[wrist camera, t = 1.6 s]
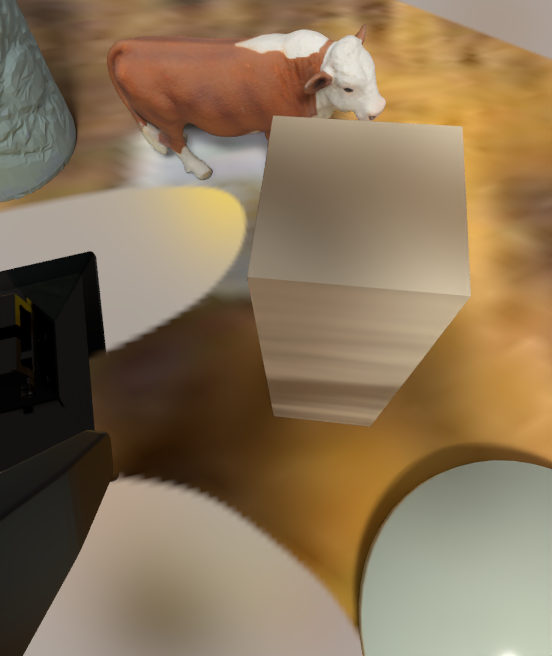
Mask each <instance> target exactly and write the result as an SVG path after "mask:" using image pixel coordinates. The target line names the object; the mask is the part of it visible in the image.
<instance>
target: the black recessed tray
mask: <svg viewBox="0 0 552 656" xmlns="http://www.w3.org/2000/svg"><path fill="white" fill-rule="evenodd" d="M104 351H106V345H105V335H104V326H103V316H102V307H101V298H100V288H99V278H98V270H97V259H96V256H95V254H94V253H93V252H92V251H88V252H84V253H79V254H75V255H71V256H66V257H62V258H57V259H53V260H49V261H44V262H40V263H36V264H31V265H27V266H22V267H18V268H13V269H9V270H4V271H0V472H3V471H5V470H7V469H9V468H11V467H13V466H15V465H17V464H19V463H21V462H23V461H25V460H27V459H29V458H31V457H33V456H35V455H37V454H39V453H41V452H43V451H45V450H47V449H49V448H51V447H53V446H55V445H57V444H59V443H61V442H64V441H66V440H68V439H70V438H72V437H74V436H76V435H78V434H80V433H82V432H84V431H86V430H94V418H93V405H92V393H91V381H90V369H89V359H90V358H92V357H95V356H96V355H98V354H100V353H101V352H104ZM94 431H95V430H94ZM116 480H117V479H114V478H111V480H110V482H113V481H116Z"/></svg>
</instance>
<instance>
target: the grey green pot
mask: <svg viewBox="0 0 552 656" xmlns="http://www.w3.org/2000/svg"><path fill="white" fill-rule="evenodd" d="M75 143H76V129H75V124H74V120H73V118H72V116H71V113H70V111H69V109H68V107H67V105H66V102H65V100H64V98H63V96H62V94H61V92H60V90H59V88H58V86H57V85H56V83H55V81H54V79H53V77H52V75H51V72H50V70H49V68H48V66H47V64H46V62H45V60H44V58H43V56H42V54H41V52H40V49H39V47H38V45H37V43H36V40H35V37H34V36H33V34H32V33H31V32H30V29H29V26H28V23H27V22H26V20H25V18H24V15H23V14H22V12H21V10H20V9H19V6H18V4H17V1H16V0H0V202H3V201H9V200H12V199H19V198H21V197H23V196H25V195H26V194H27V193H33V192H34V191H35V190H37V189H39V188H41V187H42V186H43V185H45V184H47V183H48V182H49V181H50V180H51V179H53V178H54V177H55V176H56V175H57V174H58V173H59V171H61V170H62V169H63V168H64V165H65V164H67V163H68V161H69V159H70V158H71V156H72V154H73V151H74V148H75Z"/></svg>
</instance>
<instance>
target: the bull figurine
mask: <svg viewBox="0 0 552 656" xmlns="http://www.w3.org/2000/svg"><path fill="white" fill-rule="evenodd" d="M365 34H366V25H365V24H364V25H363V26H362V27H361V29H360V31H359V32H358V33H357V34H356V35H355V36H353V35H348V36H346V37H344V38H342V39H341V40H339V41H333V40H330V39H328V38H327V37H325V36H324V35H322V34H320V33H318V32H315V31H311V30H298V31H295V32H292V33H290V34H273V33H269V34H263V35H259V36H255V37H251V38H195V37H188V36H143V37H137V38H134V39H124V40H120V41H118V42H116V43H115V44H114V45H113V46H112V47H111V48H110V50H109V53H108V56H107V66H108V71H109V75H110V78H111V81H112V83H113V85H114V87H115V89H116V91H117V93H118V94H119V96H120V98H121V99H122V101H123V102H124V104H125V105H126V106H127V108H128V109H129V111H130V112H131V113H132V115H133V117H134V118H135V120H136V122H137V124H138V126H139V128H140V130H141V132H142V134H143V136H144V137H145V139H146V140H147V141H148V142H149V143H150V144H151V145H152V146H153V147H154V149H155V150H157V151H159V152H160V153H161V154H167V152H168V147H169V148H170V149H171V150H173V151H174V152H175V153H176V154H177V155H178V156H179V157H180V159H181V160H182V162H183V164H184V167H185V171H186V172H187V173H189V172H190V171H192V172H193V173H194V174H195V175H196V177H197V178H198V179H200V180H205V179H208V178H209V177H210V176H211V175H212V172H213V170H212V169H211V168H210V167H209V166H207V165H206V163H205V162H204V161H202V160H200V159H199V158H197V157H196V156H194V155H193V154H192V153H191V152H190V150H189V149H188V147H187V146H186V144H185V143H186V141H187V134H186V133H184V132H183V130H184V126H185V124H187V123H192V124H194V125H195V126H197V127H198V128H200V129H202V130H204V131H205V132H207V133H209V134H212V135H215V136H220V137H236V136H241V135H246V134H251V133H259V132H265V136H266V138H267V140H268V144H269V138H270V132H271V126H272V120H273V116H288V117H306V118H323V119H327V118H330V117H331V116H332V114H333V113H334V112H335V110H339V111H342V112H344V113H347V112H351V111H353V112H354V113H355V115H356V117H357V119H358V120H359V121H372V120H374V119H375V118H376V117H378V116H379V115H380V114H381V113H382V112H383V110H384V107H385V105H386V101H385V99H384V98H383V97H382V96H380V94H379V92H378V89H377V85H376V74H375V65H374V62H373V60H372V58H371V55H370V54H369V52H368V51H366V50H365V49H364V48H363V46H362V44H363V42H364V39H365ZM144 118H145V119H146V120H145V119H144ZM148 121H149V122H148ZM153 124H154V125H155V126H154V125H153ZM156 126H157V127H158V128H159V130H160V131H159V130H158V128H157V127H156Z"/></svg>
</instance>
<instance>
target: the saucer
mask: <svg viewBox="0 0 552 656" xmlns="http://www.w3.org/2000/svg"><path fill="white" fill-rule="evenodd" d="M358 611H359V633H360V640H361V647H362V654H363V656H552V469H549V468H546V467H542V466H539V465H536V464H530V463H524V462H518V461H501V460H493V461H483V462H475V463H471V464H467V465H463V466H459V467H456V468H453V469H450V470H447V471H445V472H442V473H440V474H438V475H435V476H433V477H431V478H429V479H427V480H426V481H424V482H422V483H421V484H419V485H417V486H416V487H415V488H414V489H412V490H411V491H410V492H409V493H407V494H406V495H405V496H404V497H403V498H402V499H401V500H400V501H399V502H398V503H397V504H396V505H395V506H394V508H393V509H392V510H391V511H390V512H389V514H388V515H387V517H386V518H385V520H384V521H383V523H382V524H381V526H380V527H379V529H378V531H377V533H376V535H375V537H374V539H373V541H372V543H371V546H370V549H369V552H368V555H367V558H366V561H365V564H364V569H363V574H362V578H361V583H360V593H359V605H358Z"/></svg>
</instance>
